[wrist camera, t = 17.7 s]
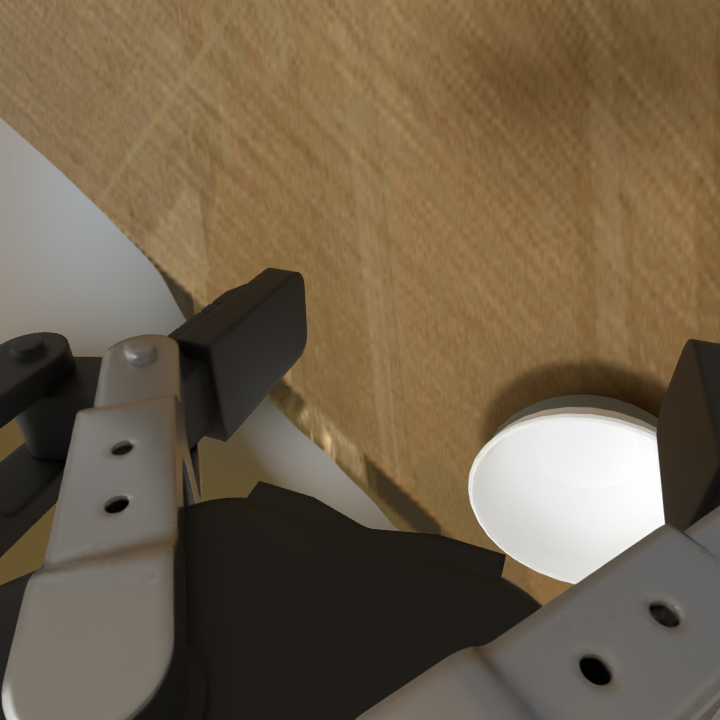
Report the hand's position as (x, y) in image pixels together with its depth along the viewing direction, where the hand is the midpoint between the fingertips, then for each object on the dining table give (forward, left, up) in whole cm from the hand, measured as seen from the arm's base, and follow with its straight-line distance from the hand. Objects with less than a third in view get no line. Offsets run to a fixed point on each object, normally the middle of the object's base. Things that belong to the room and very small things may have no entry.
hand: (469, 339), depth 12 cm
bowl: (-7, +28, -33) cm, 44 cm away
